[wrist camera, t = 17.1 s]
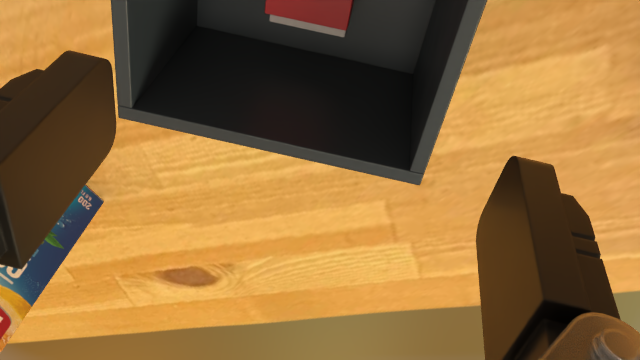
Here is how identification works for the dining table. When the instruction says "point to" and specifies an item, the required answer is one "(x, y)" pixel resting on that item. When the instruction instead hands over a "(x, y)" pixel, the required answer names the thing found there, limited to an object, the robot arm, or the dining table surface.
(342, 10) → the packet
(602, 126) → the dining table surface
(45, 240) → the beverage box
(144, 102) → the storage bin
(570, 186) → the dining table surface
